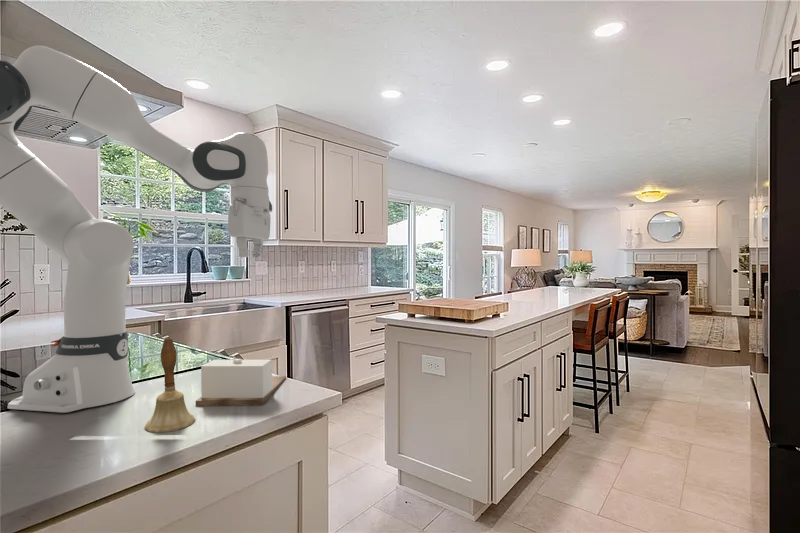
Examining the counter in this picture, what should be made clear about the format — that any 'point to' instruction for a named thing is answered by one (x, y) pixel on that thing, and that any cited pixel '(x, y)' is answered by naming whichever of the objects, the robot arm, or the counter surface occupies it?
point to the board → (242, 401)
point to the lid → (236, 378)
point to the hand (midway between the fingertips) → (250, 257)
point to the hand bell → (169, 398)
